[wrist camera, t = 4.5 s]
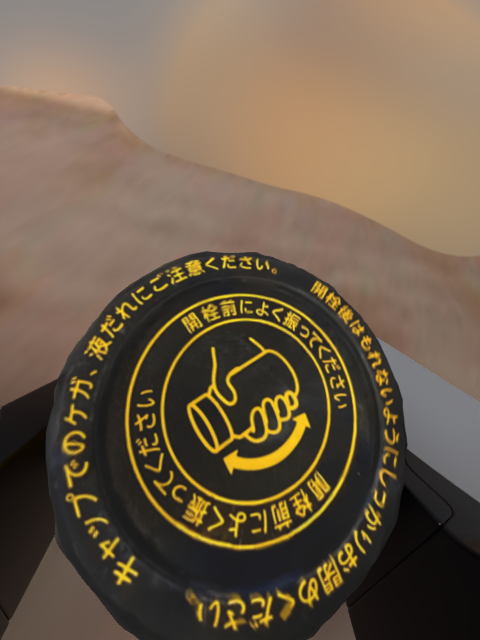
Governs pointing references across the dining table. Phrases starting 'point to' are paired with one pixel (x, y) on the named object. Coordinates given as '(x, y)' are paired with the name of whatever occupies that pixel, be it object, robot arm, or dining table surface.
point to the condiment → (226, 451)
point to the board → (439, 422)
